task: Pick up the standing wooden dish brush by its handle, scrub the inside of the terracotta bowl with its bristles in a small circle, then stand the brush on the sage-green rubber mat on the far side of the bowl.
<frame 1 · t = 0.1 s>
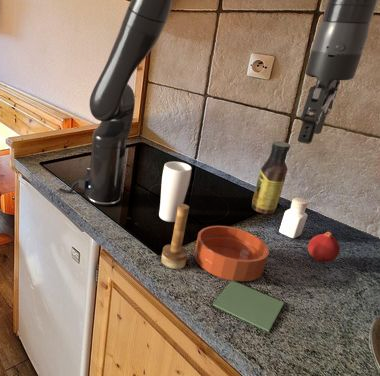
hand: (309, 137, 78), 29 cm above the worktop, tool pointing down, fingers open, 8 cm apart
mat: (248, 304, 78), on the worktop
bowl: (227, 263, 90), on the worktop
sauce bottle: (262, 210, 114), on the worktop
onion: (318, 262, 91), on the worktop
drinking glass: (168, 218, 108), on the worktop
dish brush: (173, 262, 90), on the worktop
pepper shaker: (289, 234, 102), on the worktop
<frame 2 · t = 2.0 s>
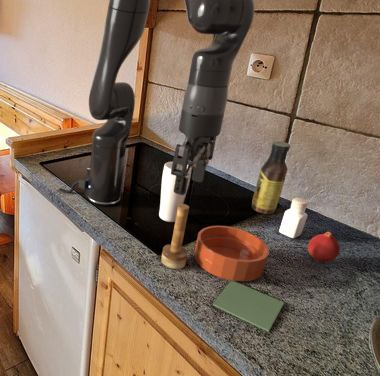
hand: (188, 187, 82), 18 cm above the worktop, tool pointing down, fingers open, 8 cm apart
nothing on the worktop moved.
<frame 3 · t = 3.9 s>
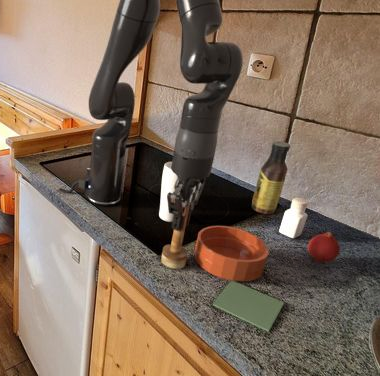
hand: (179, 226, 86), 9 cm above the worktop, tool pointing down, fingers closed on dish brush
dish brush: (173, 262, 90), on the worktop, touching gripper
everything else where it was.
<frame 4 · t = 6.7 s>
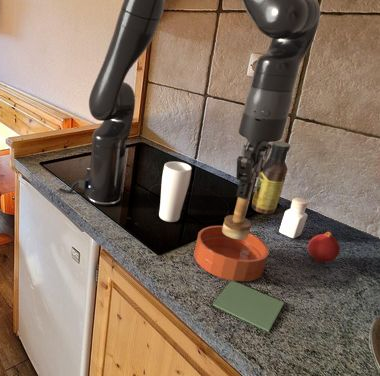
hand: (244, 195, 83), 17 cm above the worktop, tool pointing down, fingers closed on dish brush
dish brush: (234, 233, 87), point 8 cm above the worktop, touching gripper
everything else where it was.
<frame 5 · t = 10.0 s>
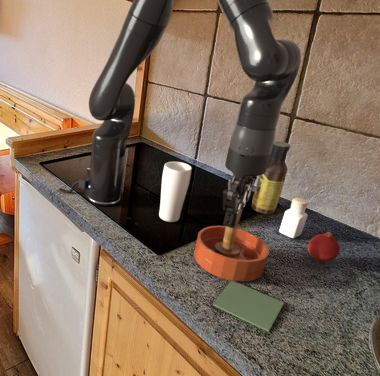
hand: (231, 223, 87), 10 cm above the worktop, tool pointing down, fingers closed on dish brush
dish brush: (225, 259, 90), point 1 cm above the worktop, touching gripper
everything else where it was.
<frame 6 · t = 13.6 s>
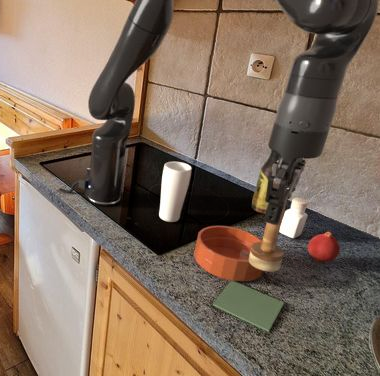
hand: (273, 219, 70), 19 cm above the worktop, tool pointing down, fingers closed on dish brush
dish brush: (264, 263, 74), point 10 cm above the worktop, touching gripper
everything else where it was.
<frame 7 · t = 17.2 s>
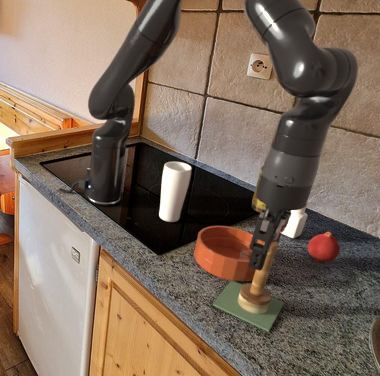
hand: (262, 257, 73), 11 cm above the worktop, tool pointing down, fingers open, 8 cm apart
dish brush: (252, 304, 77), resting on mat
everything else where it was.
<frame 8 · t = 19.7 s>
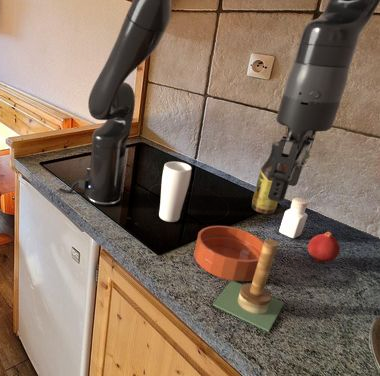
hand: (282, 191, 68), 24 cm above the worktop, tool pointing down, fingers open, 8 cm apart
nothing on the worktop moved.
at the end: dish brush inside the target area (0.6 cm from its centre), resting on mat; dish brush tilted 0°; the gripper is holding nothing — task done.
